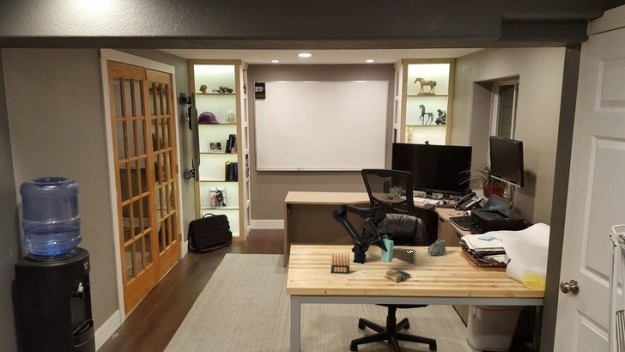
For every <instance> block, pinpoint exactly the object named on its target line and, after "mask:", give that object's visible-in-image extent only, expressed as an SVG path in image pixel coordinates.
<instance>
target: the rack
mask: <svg viewBox="0 0 625 352" xmlns="http://www.w3.org/2000/svg"><path fill="white" fill-rule="evenodd" d="M395 272H397V273H400V274H402V277H401V281H399V282H395V281H392V280H390V279H388V280H389V281H392V282H394V283H396V284H399V283H403V282H404V281H407V280H409V279H411V273H409V272H406V271H403V270H401V269H399V268H398V269H395ZM383 278H384V279H386V278H385V276H383Z"/></svg>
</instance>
